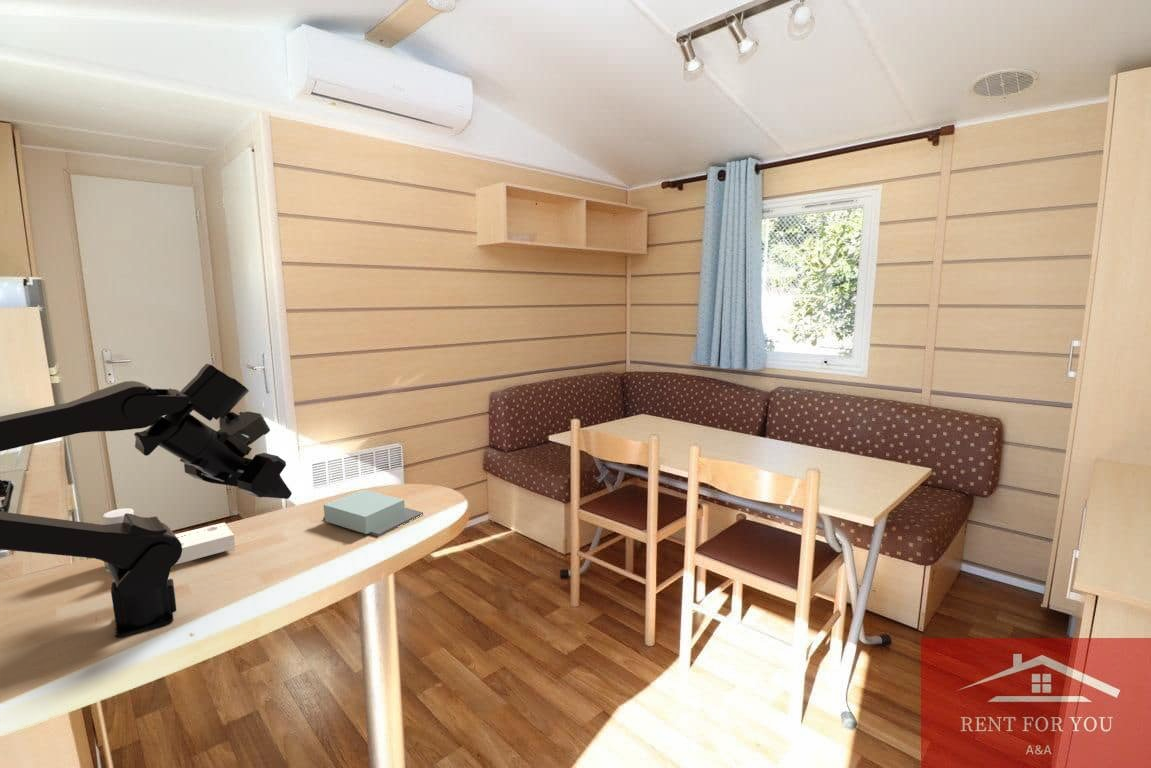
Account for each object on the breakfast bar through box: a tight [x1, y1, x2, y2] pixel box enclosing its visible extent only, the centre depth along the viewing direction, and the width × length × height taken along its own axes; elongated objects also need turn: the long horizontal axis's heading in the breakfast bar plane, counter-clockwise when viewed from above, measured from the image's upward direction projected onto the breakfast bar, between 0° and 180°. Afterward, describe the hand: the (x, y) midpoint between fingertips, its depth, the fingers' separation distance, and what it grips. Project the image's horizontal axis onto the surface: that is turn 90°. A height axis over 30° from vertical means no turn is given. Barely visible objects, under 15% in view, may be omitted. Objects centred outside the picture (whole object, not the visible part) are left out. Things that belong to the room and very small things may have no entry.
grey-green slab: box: [323, 488, 406, 535], centre depth 114 cm, size 4×12×10 cm
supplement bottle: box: [102, 507, 135, 574], centre depth 95 cm, size 5×5×10 cm
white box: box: [174, 522, 236, 566], centre depth 98 cm, size 13×7×8 cm, turn 133°
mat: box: [322, 507, 424, 538], centre depth 117 cm, size 12×16×1 cm
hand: (272, 491), depth 94 cm, fingers open, 9 cm apart
